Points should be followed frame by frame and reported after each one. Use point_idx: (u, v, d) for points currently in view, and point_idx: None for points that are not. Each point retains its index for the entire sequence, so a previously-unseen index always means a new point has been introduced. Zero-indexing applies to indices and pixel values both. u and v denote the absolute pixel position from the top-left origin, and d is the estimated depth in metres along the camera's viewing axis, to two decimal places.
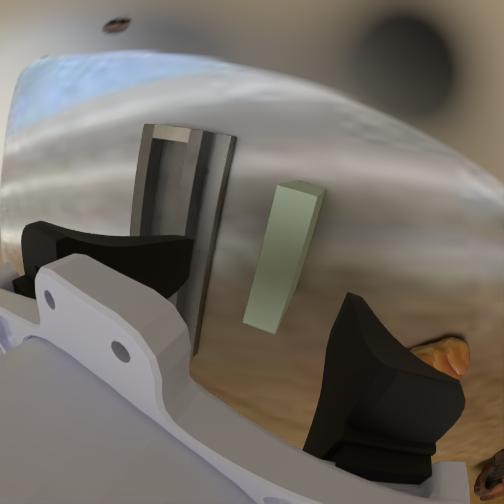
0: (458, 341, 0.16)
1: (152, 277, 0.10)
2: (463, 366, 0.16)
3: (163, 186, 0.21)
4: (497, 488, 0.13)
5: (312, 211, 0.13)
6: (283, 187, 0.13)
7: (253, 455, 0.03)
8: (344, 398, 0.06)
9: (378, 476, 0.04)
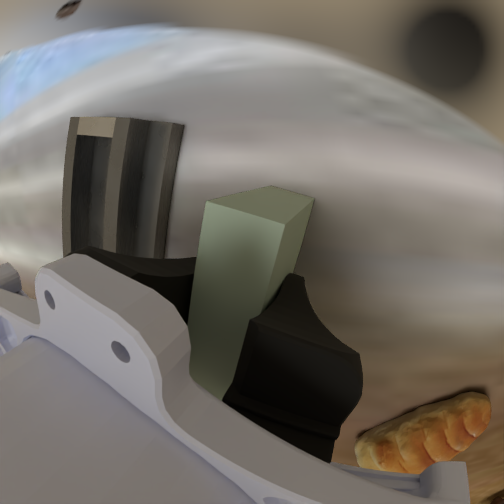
0: (479, 399, 0.10)
1: None
2: (482, 427, 0.09)
3: (96, 198, 0.14)
4: None
5: (275, 254, 0.07)
6: (217, 205, 0.07)
7: (253, 455, 0.03)
8: None
9: None
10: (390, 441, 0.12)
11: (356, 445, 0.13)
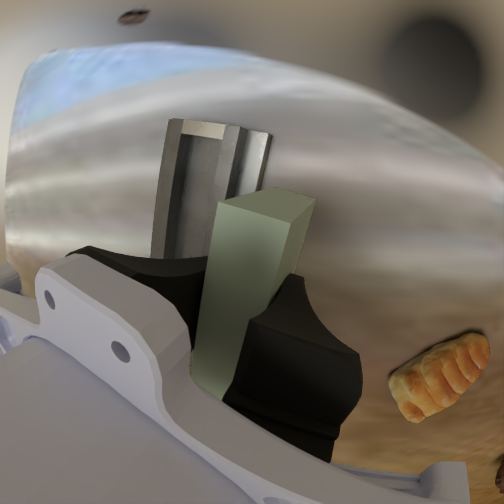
0: (479, 336, 0.15)
1: None
2: (484, 360, 0.15)
3: (191, 186, 0.20)
4: None
5: (281, 250, 0.07)
6: (229, 206, 0.07)
7: (253, 455, 0.03)
8: None
9: None
10: (416, 371, 0.17)
11: (389, 380, 0.19)
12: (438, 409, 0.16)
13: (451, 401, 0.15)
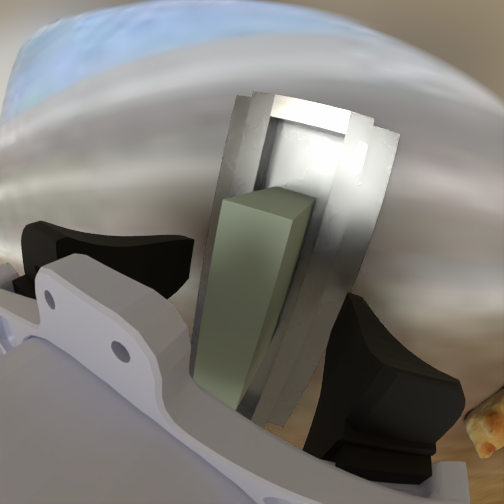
0: None
1: (152, 277, 0.10)
2: None
3: None
4: None
5: (284, 246, 0.07)
6: (233, 203, 0.08)
7: (253, 455, 0.03)
8: (344, 398, 0.06)
9: (378, 476, 0.04)
10: (497, 411, 0.11)
11: (468, 423, 0.12)
12: None
13: None
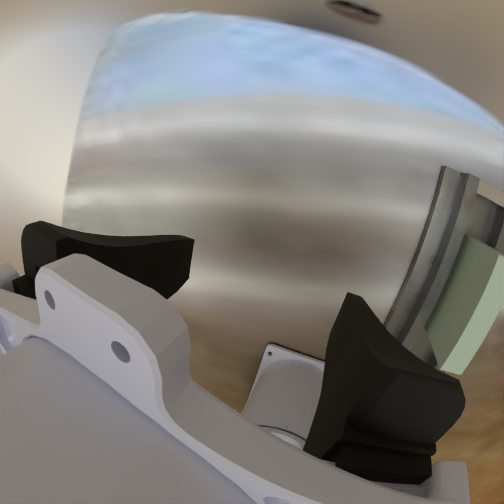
0: None
1: (152, 277, 0.10)
2: None
3: None
4: None
5: None
6: (502, 257, 0.11)
7: (253, 455, 0.03)
8: (344, 398, 0.06)
9: (378, 476, 0.04)
10: None
11: None
12: None
13: None
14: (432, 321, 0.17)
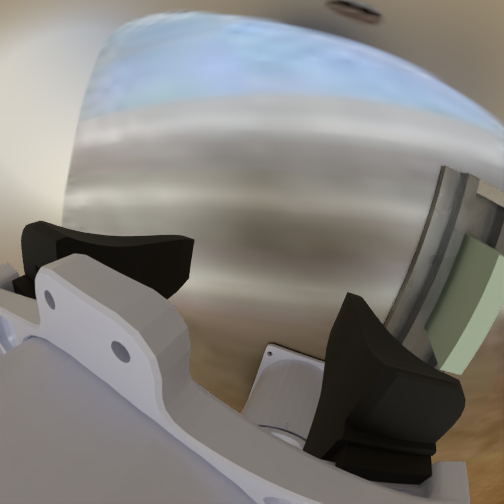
0: None
1: (152, 277, 0.10)
2: None
3: None
4: None
5: None
6: (502, 257, 0.11)
7: (253, 455, 0.03)
8: (344, 398, 0.06)
9: (378, 476, 0.04)
10: None
11: None
12: None
13: None
14: (432, 321, 0.17)
